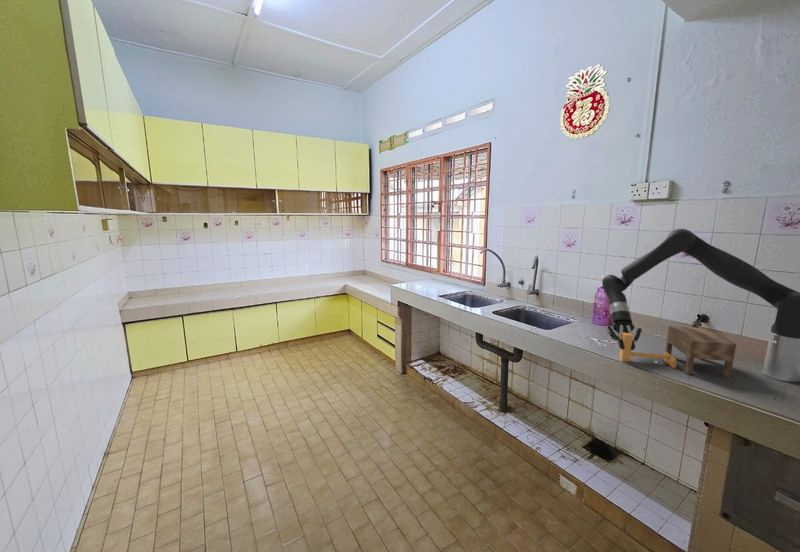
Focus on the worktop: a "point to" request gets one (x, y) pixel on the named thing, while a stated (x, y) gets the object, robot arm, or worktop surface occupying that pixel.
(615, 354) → the worktop surface
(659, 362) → the steel token
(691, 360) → the wooden footstool
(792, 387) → the worktop surface
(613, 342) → the scissors
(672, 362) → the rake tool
